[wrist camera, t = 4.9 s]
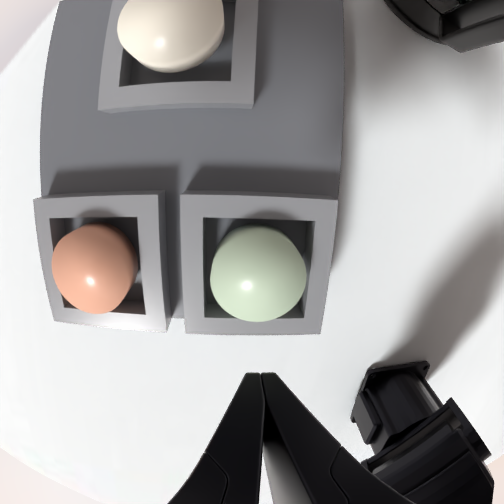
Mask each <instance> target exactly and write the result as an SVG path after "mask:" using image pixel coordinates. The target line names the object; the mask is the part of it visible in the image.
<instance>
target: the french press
mask: <svg viewBox="0 0 504 504" xmlns="http://www.w3.org/2000/svg"><path fill="white" fill-rule="evenodd" d="M384 1H385V2H386V4H387V5H388V6H389V7H390V9H391V10H392V11H393V12H394V13H395V14H396V15H397V16H398V17H399V18H400V19H401V20H402V21H403V22H404V23H405V24H407V25H408V26H409V27H410V28H412V29H413V30H414V31H416V32H417V33H419V34H421V35H422V36H424V37H425V38H428V39H430V40H432V41H434V42H437V43H441V44H445V45H448V46H450V47H452V48H453V49H455V50H457V51H458V52H466V51H469V50H473V49H476V48H480V47H483V46H487V45H491V44H495V43H499V42H503V41H504V0H459V2H460V6H458V7H456V8H454V9H452V10H450V11H448V12H446V13H444V14H441V13H440V12H439V11H438V10H436V9H435V8H434V7H433V6H432V5H431V4H430V3H429V2H428V1H427V0H384Z"/></svg>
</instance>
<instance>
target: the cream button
mask: <svg viewBox="0 0 504 504" xmlns="http://www.w3.org/2000/svg"><path fill="white" fill-rule="evenodd" d="M117 33H118V37H119V40H120V42H121V44H122V46H123V47H124V48H125V49H126V50H127V51H128V52H129V53H130V54H131V55H132V56H133V57H134V58H136V59H137V60H138V61H139V62H140V63H141V64H143V65H144V66H145V67H147V68H149V69H151V70H154V71H158V72H164V73H174V72H181V71H185V70H188V69H191V68H193V67H196V66H198V65H199V64H201V63H203V62H204V61H205V60H207V59H208V58H209V57H210V56H211V55H212V54H213V53H214V52H215V51H216V50H217V48H218V47H219V45H220V43H221V41H222V38H223V35H224V12H223V4H222V0H128V1H127V3H126V4H125V6H124V7H123V9H122V11H121V13H120V16H119V19H118V24H117Z"/></svg>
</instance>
